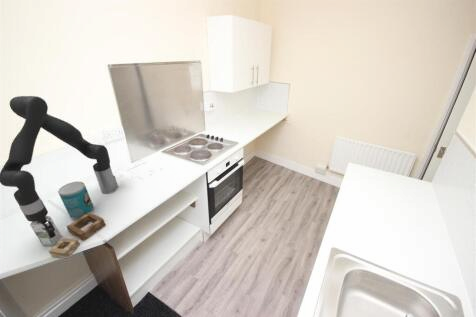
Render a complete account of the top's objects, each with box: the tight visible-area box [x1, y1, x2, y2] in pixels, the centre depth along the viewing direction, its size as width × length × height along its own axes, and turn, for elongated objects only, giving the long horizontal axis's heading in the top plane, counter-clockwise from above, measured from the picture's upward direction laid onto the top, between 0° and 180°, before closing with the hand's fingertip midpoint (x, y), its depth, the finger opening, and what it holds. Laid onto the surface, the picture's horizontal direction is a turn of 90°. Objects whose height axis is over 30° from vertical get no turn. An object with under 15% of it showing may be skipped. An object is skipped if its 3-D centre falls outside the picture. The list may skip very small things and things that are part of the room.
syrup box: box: [29, 215, 63, 246], centre depth 105 cm, size 6×6×14 cm
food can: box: [57, 181, 95, 221], centre depth 122 cm, size 12×12×18 cm
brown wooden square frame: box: [66, 212, 106, 242], centre depth 115 cm, size 12×12×4 cm
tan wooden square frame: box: [48, 237, 81, 259], centre depth 103 cm, size 8×8×4 cm
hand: (48, 233), depth 106 cm, fingers open, 8 cm apart
